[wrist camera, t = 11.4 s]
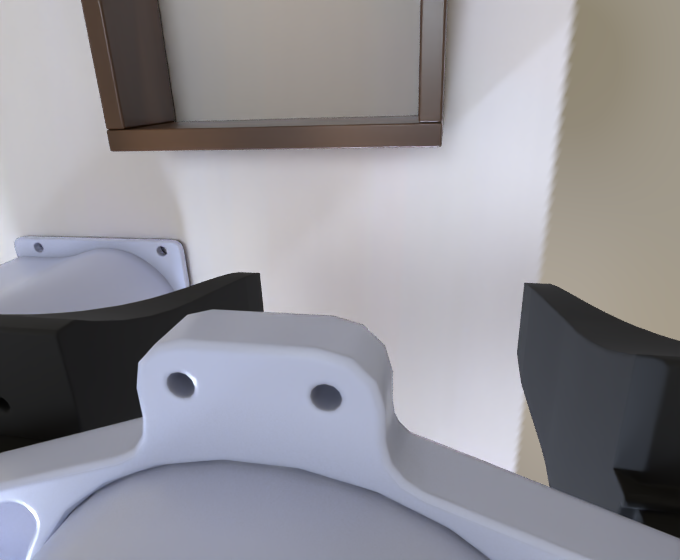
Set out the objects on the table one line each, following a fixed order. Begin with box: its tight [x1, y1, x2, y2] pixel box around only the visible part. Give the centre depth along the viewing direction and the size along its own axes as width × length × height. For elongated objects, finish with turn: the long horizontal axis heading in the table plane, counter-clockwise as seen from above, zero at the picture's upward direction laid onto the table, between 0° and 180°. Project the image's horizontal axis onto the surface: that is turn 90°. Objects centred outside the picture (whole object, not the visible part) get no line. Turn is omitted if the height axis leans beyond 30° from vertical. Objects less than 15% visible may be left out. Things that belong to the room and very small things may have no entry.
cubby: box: [81, 0, 447, 151], centre depth 18 cm, size 13×10×4 cm
